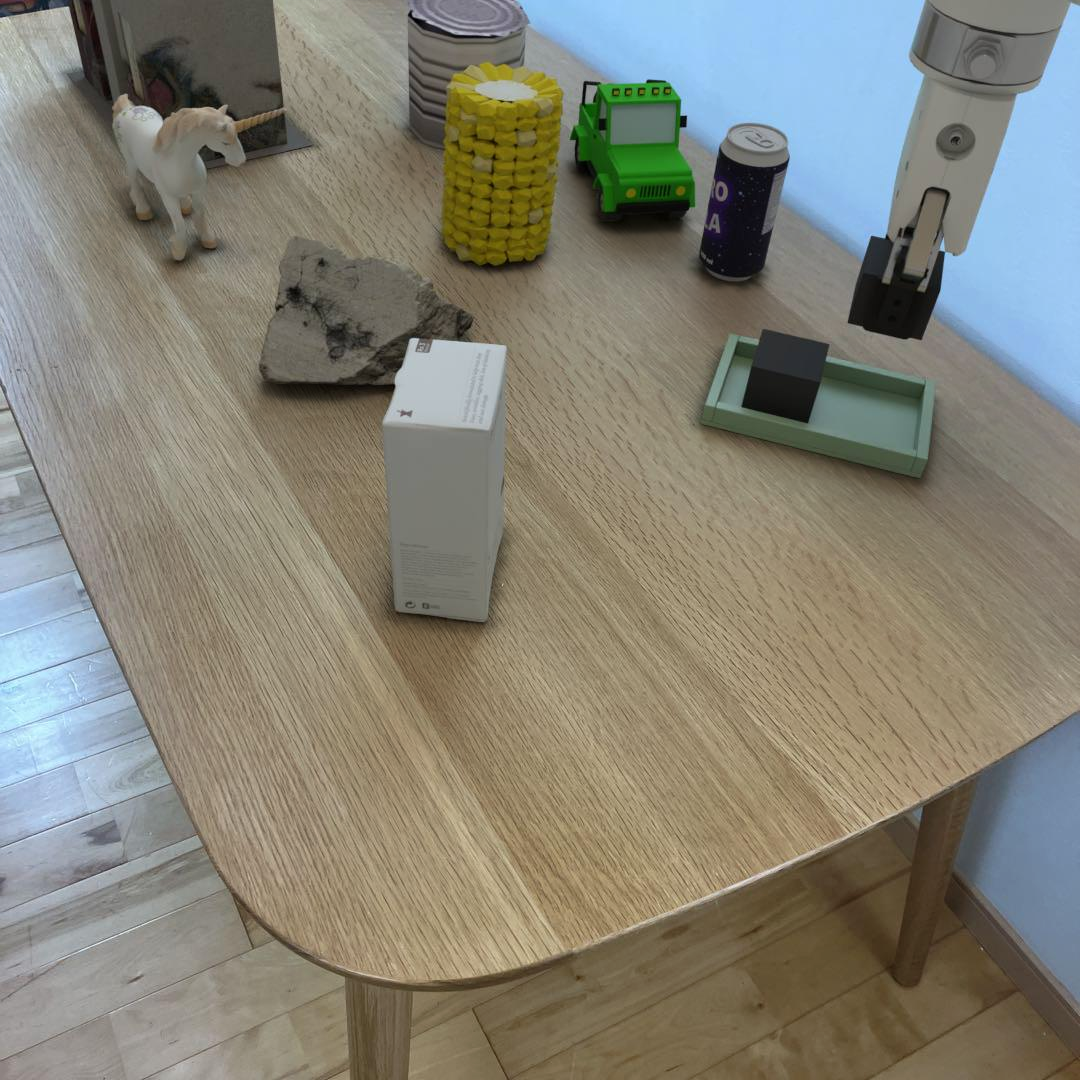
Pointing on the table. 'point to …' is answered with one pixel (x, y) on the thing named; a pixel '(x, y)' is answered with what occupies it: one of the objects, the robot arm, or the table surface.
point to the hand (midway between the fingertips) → (890, 307)
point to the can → (456, 52)
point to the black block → (785, 375)
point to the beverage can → (744, 200)
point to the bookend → (186, 63)
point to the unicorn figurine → (177, 158)
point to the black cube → (876, 265)
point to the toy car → (634, 149)
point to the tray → (834, 412)
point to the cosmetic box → (446, 476)
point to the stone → (350, 317)
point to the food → (500, 162)
